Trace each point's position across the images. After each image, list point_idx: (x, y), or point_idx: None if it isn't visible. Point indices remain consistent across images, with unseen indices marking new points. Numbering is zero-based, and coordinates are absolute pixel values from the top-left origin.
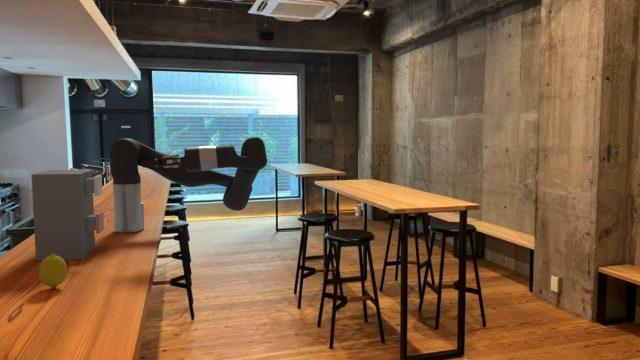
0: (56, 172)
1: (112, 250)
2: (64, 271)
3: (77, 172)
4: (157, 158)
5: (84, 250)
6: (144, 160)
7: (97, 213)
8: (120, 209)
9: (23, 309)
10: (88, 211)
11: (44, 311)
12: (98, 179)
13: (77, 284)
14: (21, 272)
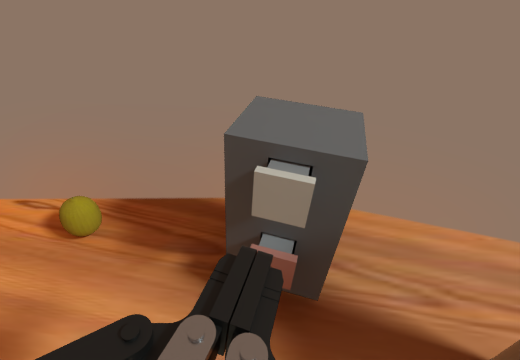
0: (289, 115)
1: None
2: (62, 225)
3: (275, 134)
4: (132, 325)
5: None
6: (237, 256)
7: (267, 248)
8: (517, 350)
9: (40, 209)
10: (284, 232)
11: (8, 223)
12: (264, 181)
13: (78, 256)
14: (198, 209)
